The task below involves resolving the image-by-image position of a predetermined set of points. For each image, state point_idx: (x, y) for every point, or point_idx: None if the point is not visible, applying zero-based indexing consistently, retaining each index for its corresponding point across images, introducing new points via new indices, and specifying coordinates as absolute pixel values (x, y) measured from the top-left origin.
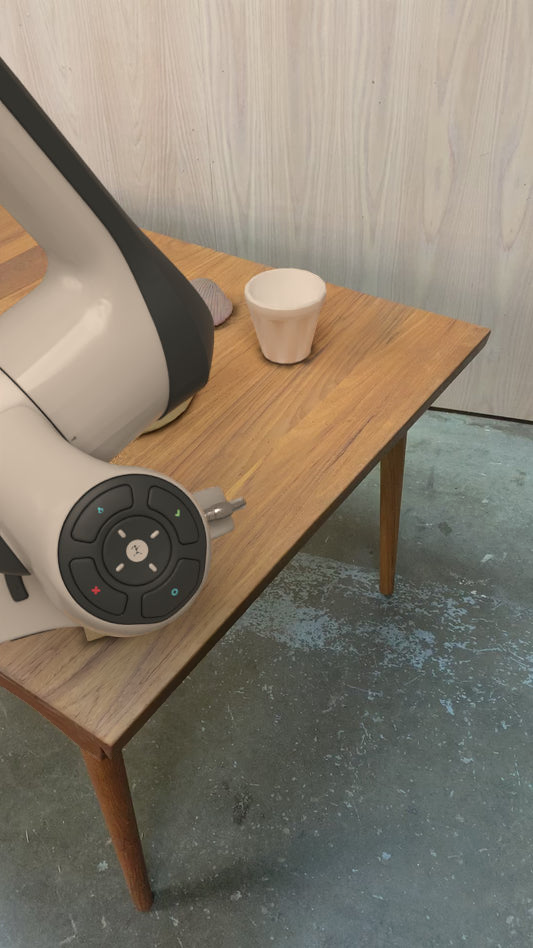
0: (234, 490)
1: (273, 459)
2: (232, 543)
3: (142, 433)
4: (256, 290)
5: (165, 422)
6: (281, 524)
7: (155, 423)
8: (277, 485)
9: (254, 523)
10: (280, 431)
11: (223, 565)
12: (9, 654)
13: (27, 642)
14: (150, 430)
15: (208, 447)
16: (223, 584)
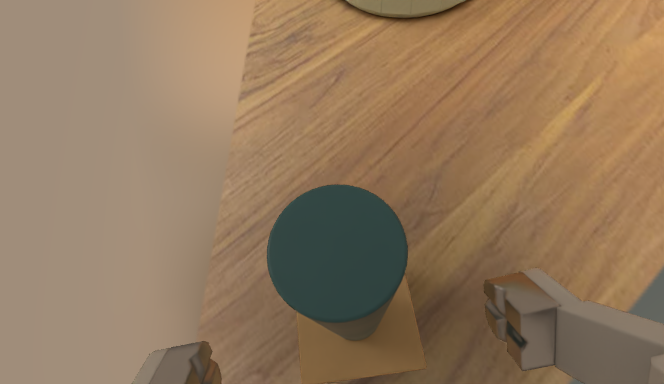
0: (560, 124)
1: (620, 80)
2: (565, 225)
3: (419, 16)
4: None
5: (455, 2)
6: (652, 204)
7: (443, 2)
8: (634, 127)
9: (601, 192)
10: (625, 35)
11: (552, 268)
12: None
13: (224, 345)
14: (431, 13)
15: (513, 47)
16: None
